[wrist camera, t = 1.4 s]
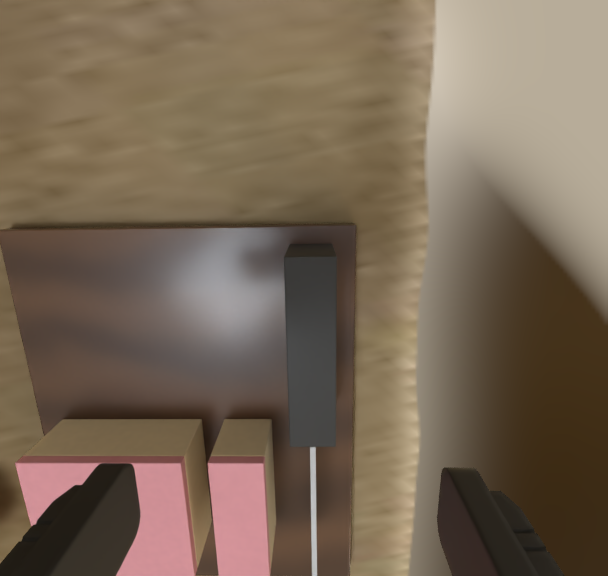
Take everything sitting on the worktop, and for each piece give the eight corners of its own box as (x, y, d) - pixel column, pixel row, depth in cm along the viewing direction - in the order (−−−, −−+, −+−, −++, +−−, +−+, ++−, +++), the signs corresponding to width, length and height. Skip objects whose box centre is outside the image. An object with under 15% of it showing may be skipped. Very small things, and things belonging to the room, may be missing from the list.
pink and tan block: (224, 418, 24) (207, 463, 20) (271, 418, 24) (263, 463, 20) (232, 520, 26) (218, 579, 22) (276, 520, 26) (269, 579, 22)
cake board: (10, 228, 22) (-4, 230, 21) (354, 222, 21) (356, 224, 20) (83, 561, 28) (75, 574, 27) (348, 564, 28) (350, 577, 27)
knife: (288, 244, 21) (283, 256, 17) (332, 243, 21) (337, 256, 17) (296, 520, 26) (293, 579, 22) (331, 521, 26) (335, 580, 22)
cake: (62, 418, 24) (14, 463, 20) (202, 418, 24) (180, 463, 20) (83, 519, 26) (43, 577, 22) (212, 520, 26) (194, 578, 22)
